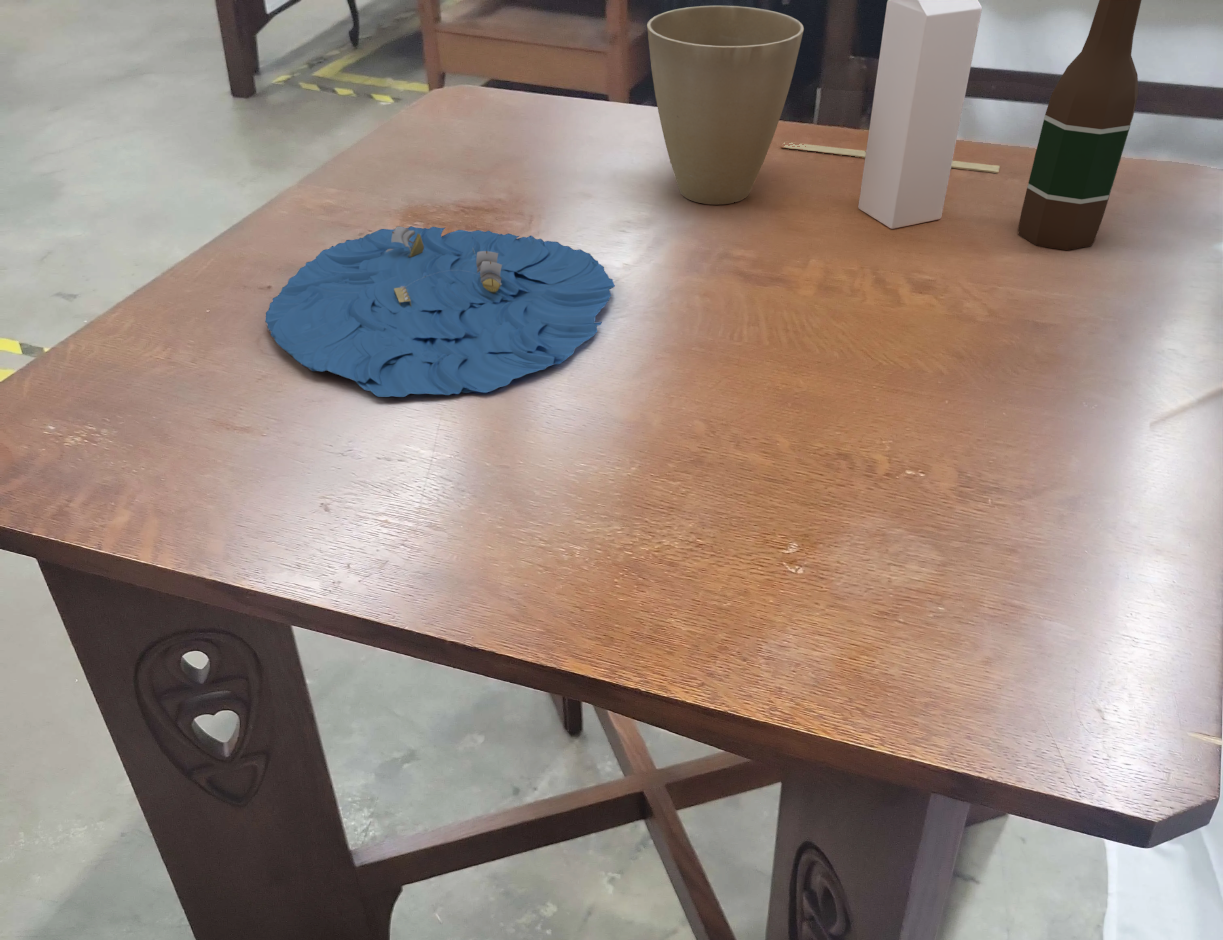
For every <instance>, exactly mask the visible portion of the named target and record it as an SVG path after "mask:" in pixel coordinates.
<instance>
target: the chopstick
mask: <svg viewBox="0 0 1223 940" xmlns="http://www.w3.org/2000/svg"><path fill="white" fill-rule="evenodd" d="M793 143H794V142H791V143H789V144H793ZM783 144H785V142H784V143H783ZM802 144H804V145H802ZM792 146H795V147H792ZM797 146H800V147H797ZM805 146H806V147H805ZM784 147H786V148H790V149H793V148H794V149H803V150H808V151H818V152H825V153H834V154H841V155H840V156H842V155H851V156H855V157H854V158H859V157H862V158H861V159H865V156H866V150H861V149H852V148H844V147H836V146H835V147H834V146H827V145H818V144H817V145H816V144H809V143H800V144H799V145H795V144H793V145H790V146H788V145H785V146H784ZM851 156H850V157H851ZM1000 167H1001V166H1000V165H996V164H995V165H994V164H985V163H978V162H970V161H969V162H967V161H960V160H952V165H951V169H956V170H965V171H974V172H983V173H990V174H998V173H999V171H1000Z"/></svg>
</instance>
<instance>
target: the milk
mask: <svg viewBox="0 0 1223 940" xmlns="http://www.w3.org/2000/svg"><path fill="white" fill-rule="evenodd" d="M982 11H983V7H982V4H981V3H980V1H979V0H887V2H886V8H885V15H884V21H883V22H884V23H883V29H882V36H881V44H880V50H879V58H878V64H877V65H878V66H877V71H876V78H875V86H874V92H873V100H872V107H871V114H870V122H869V128H868V135H867V141H866V142H867V143H866V150H865V151H866V156H865V158H864V164H863V169H862V170H863V171H862V177H861V183H860V191H859V199H858V207H857V208H858V210H860V211H862V212H863V213H865V214H866V215H868V216H870V217H871V218H873V219H875V220H876V221H878V222H879V223H881V224H882V225H884V226H886V227H887V228H889V229H891V230H894V229H898V228H899V229H900V228H903V227H908V226H913V225H919V224H923V223H928V222H933V221H938V220H941V219H942V217H943V212H944V207H945V202H946V201H945V200H946V196H947V191H948V187H949V181H950V175H951V169H952V168H951V165H952V161H954V160H953V159H954V155H955V150H956V145H957V140H958V139H957V138H958V135H959V129H960V123H961V119H962V113H963V108H964V104H965V99H966V93H967V88H968V82H969V78H970V72H971V67H972V63H973V62H972V61H973V56H974V53H975V46H976V41H977V36H978V31H979V27H980V26H979V25H980V21H981V16H982Z"/></svg>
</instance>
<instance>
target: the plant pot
mask: <svg viewBox="0 0 1223 940" xmlns="http://www.w3.org/2000/svg"><path fill="white" fill-rule="evenodd" d="M804 27H805V26H804V25H803V23H802V22H800V20H798V19H796V18H794V17H793V16H790V15H788V14H785V13H782V12H778V11H773V10H770V9H763V8H758V7H757V8H756V7H750V6H739V5H700V6H699V5H698V6H690V7H689V6H688V7H682V8H677V9H676V8H675V9H672V10H668V11H664V12H662V13H659V14H657V15H655V16H653V17H652V18H650V19H649V20H648V21H647V23H646V28H647V29H646V30H647V39H648V48H649V58H650V68H651V74H652V82H653V89H654V96H655V101H656V106H657V112H658V117H659V122H660V126H661V131H662V134H663V139H664V145H665V147H666V151H667V155H668V158H669V161H670V165H671V168H672V172H673V175H674V179H675V181H676V185H677V188H678V190H679V193H680V195H681V196H683V198H685V199H687V200H689V201H692V202H695V203H698V204H705V205H714V206H715V205H731V204H734V202H735V203H739V202H741V201H743V200H745V199H746V198H747V197H748V196H749V194H750V193H751V191H752V189H753V187H754V185H755V182H756V180H757V178H758V176H759V173H760V171H761V169H762V167H763V164H764V162H765V159H766V157H767V155H768V152H769V150H770V146H771V144H772V142H773V139H774V137H775V133H776V130H777V128H778V125H779V123H780V119H781V116H782V112H783V110H784V107H785V104H786V101H787V98H788V97H787V96H788V94H789V91H790V88H791V84H792V79H793V76H794V72H795V68H796V64H797V59H798V56H799V52H800V47H801V43H802V39H803V34H804V30H805V28H804ZM744 198H745V199H744Z"/></svg>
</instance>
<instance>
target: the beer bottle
mask: <svg viewBox="0 0 1223 940" xmlns="http://www.w3.org/2000/svg"><path fill="white" fill-rule="evenodd" d="M1141 4H1142V0H1098V2H1097V6H1096V9H1095V13H1094V16H1093V19H1092V21H1091V25H1090V29H1089V31H1088V35H1087V37H1086V40H1085V42H1084V44H1083V47H1082V49H1081V51H1080V53H1078V54H1077V56H1076V57H1075V58H1073V60H1072V61H1071V62H1070V63H1069V65H1067V67H1066V68H1065V70H1064V72H1063V73H1062V75H1061V77H1060V79H1059V80H1058V82H1057V84H1056V85H1055V87H1054V89H1053V91H1052V93H1051V94H1050V98H1049V102H1048V105H1047V107H1046V110H1045V114H1044V118H1043V122H1042V125H1041V129H1040V133H1039V138H1038V141H1037V146H1036V149H1035V154H1034V157H1033V162H1032V167H1031V169H1030V170H1031V171H1030V175H1029V178H1028V183H1027V186H1026V192H1025V195H1024V199H1023V203H1022V207H1021V211H1020V216H1019V222H1018V226H1017V227H1018V228H1017V233H1018V235H1019V236H1021V237H1022V238H1024V239H1025V240H1027V241H1028V242H1030V243H1031V244H1033V245H1035V246H1036V247H1037V246H1038V247H1043V248H1049V249H1056V250H1061V251H1070V250H1077V249H1081V248H1088V247H1092V245H1093V244H1094V243H1095V241H1096V237H1097V235H1098V232H1099V230H1100V227H1101V224H1102V221H1103V218H1104V216H1105V214H1106V213H1105V212H1106V209H1107V206H1108V202H1109V199H1110V195H1111V192H1112V189H1113V186H1114V182H1115V180H1116V179H1115V178H1116V175H1117V173H1118V169H1119V166H1120V162H1121V159H1122V157H1123V152H1124V149H1125V146H1126V142H1127V138H1128V136H1129V132H1130V129H1131V125H1132V122H1133V119H1134V115H1135V112H1136V111H1135V110H1136V107H1137V102H1138V97H1139V76H1138V72H1137V68H1136V66H1135V62H1134V60H1133V56H1132V51H1133V44H1134V35H1135V30H1136V26H1137V21H1138V19H1139V18H1138V17H1139V13H1140V8H1141Z"/></svg>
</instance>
